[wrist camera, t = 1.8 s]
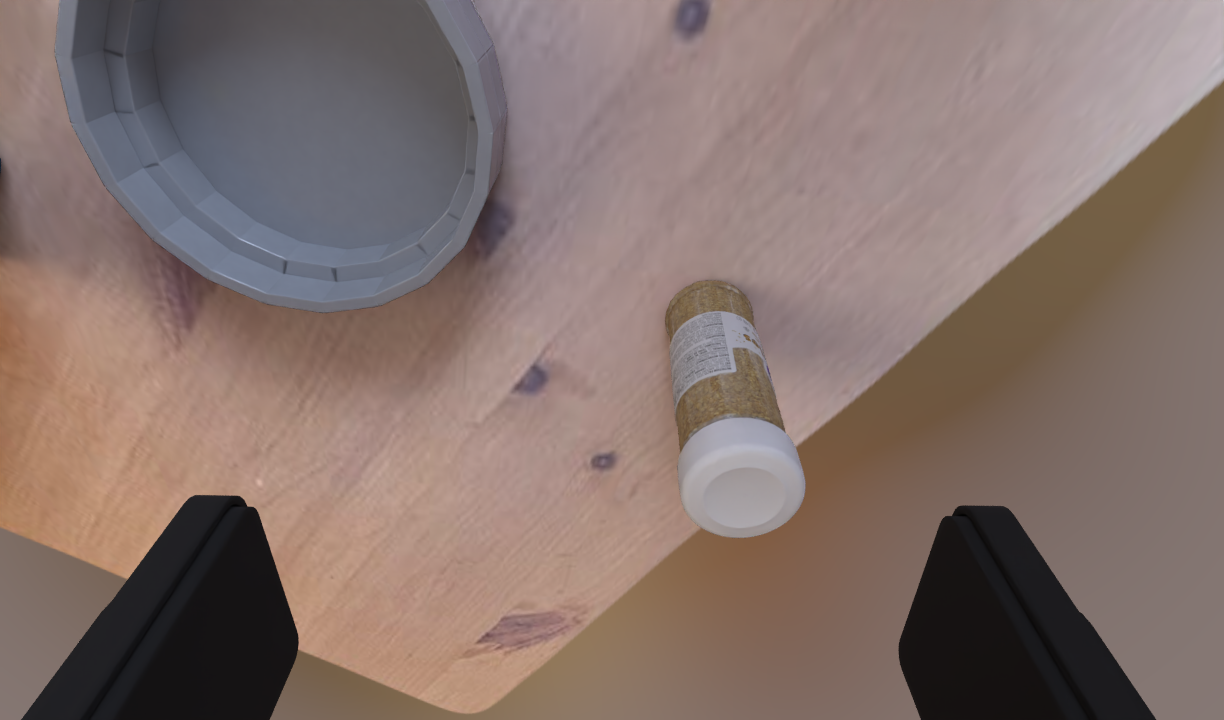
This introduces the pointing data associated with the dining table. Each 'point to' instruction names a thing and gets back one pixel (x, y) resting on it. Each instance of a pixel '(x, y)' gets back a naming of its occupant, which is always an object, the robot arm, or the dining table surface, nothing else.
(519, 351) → the dining table surface
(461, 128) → the pan
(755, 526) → the sprinkles bottle
